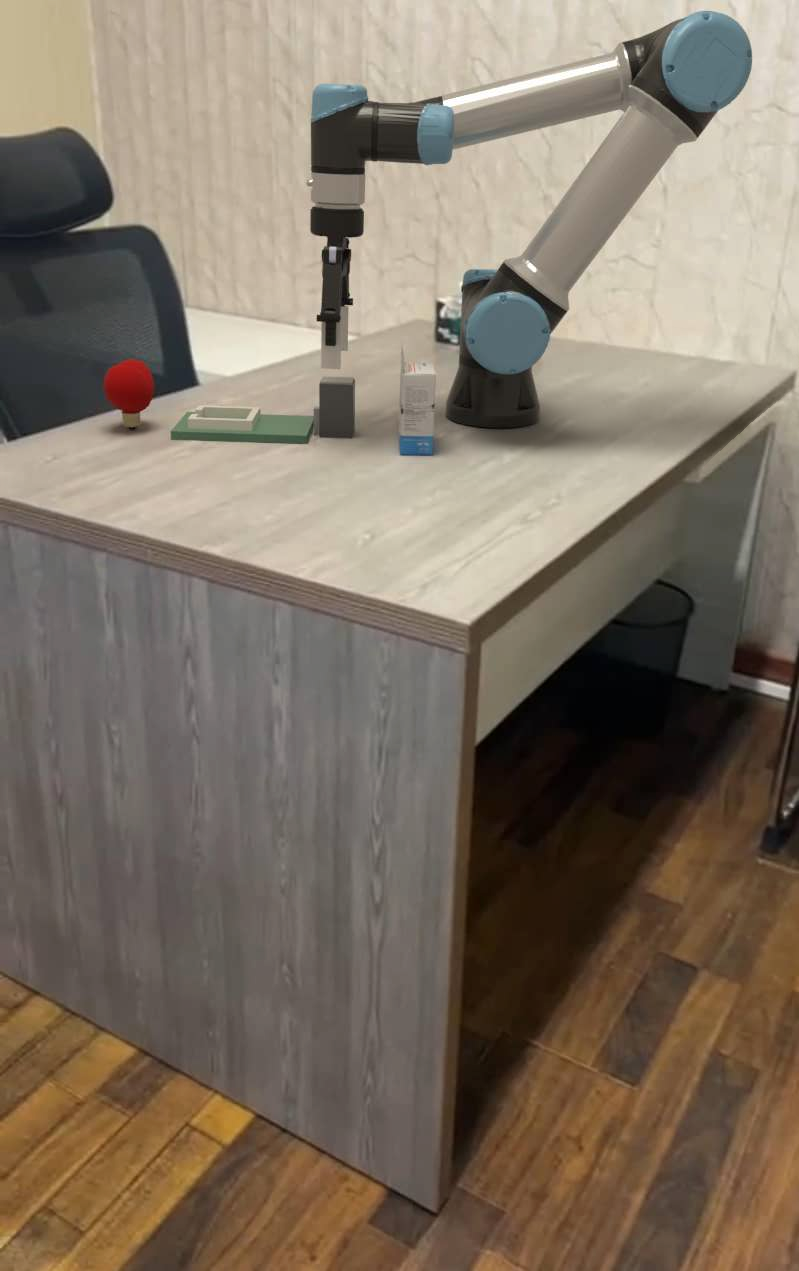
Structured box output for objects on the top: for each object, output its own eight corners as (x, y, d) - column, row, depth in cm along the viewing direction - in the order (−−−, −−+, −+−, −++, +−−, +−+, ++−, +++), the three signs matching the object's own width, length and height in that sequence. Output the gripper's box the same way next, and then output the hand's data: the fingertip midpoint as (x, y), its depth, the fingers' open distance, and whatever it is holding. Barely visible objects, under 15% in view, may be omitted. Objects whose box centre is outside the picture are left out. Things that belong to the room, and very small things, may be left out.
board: (314, 423, 181) (314, 406, 180) (306, 443, 170) (306, 425, 169) (187, 419, 182) (186, 402, 181) (171, 439, 171) (170, 421, 170)
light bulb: (141, 438, 171) (137, 370, 167) (97, 435, 172) (91, 367, 168) (165, 423, 179) (161, 358, 175) (123, 420, 180) (118, 355, 176)
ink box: (434, 456, 166) (438, 352, 160) (399, 455, 166) (402, 351, 160) (430, 440, 174) (434, 340, 168) (397, 439, 174) (400, 340, 168)
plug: (354, 431, 178) (355, 377, 174) (352, 438, 174) (353, 383, 171) (315, 430, 178) (315, 375, 174) (312, 437, 174) (312, 381, 171)
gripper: (319, 198, 174) (317, 342, 183) (300, 211, 151) (299, 375, 160) (369, 200, 174) (365, 344, 182) (358, 214, 151) (354, 377, 160)
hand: (334, 359), depth 171 cm, fingers open, 13 cm apart
